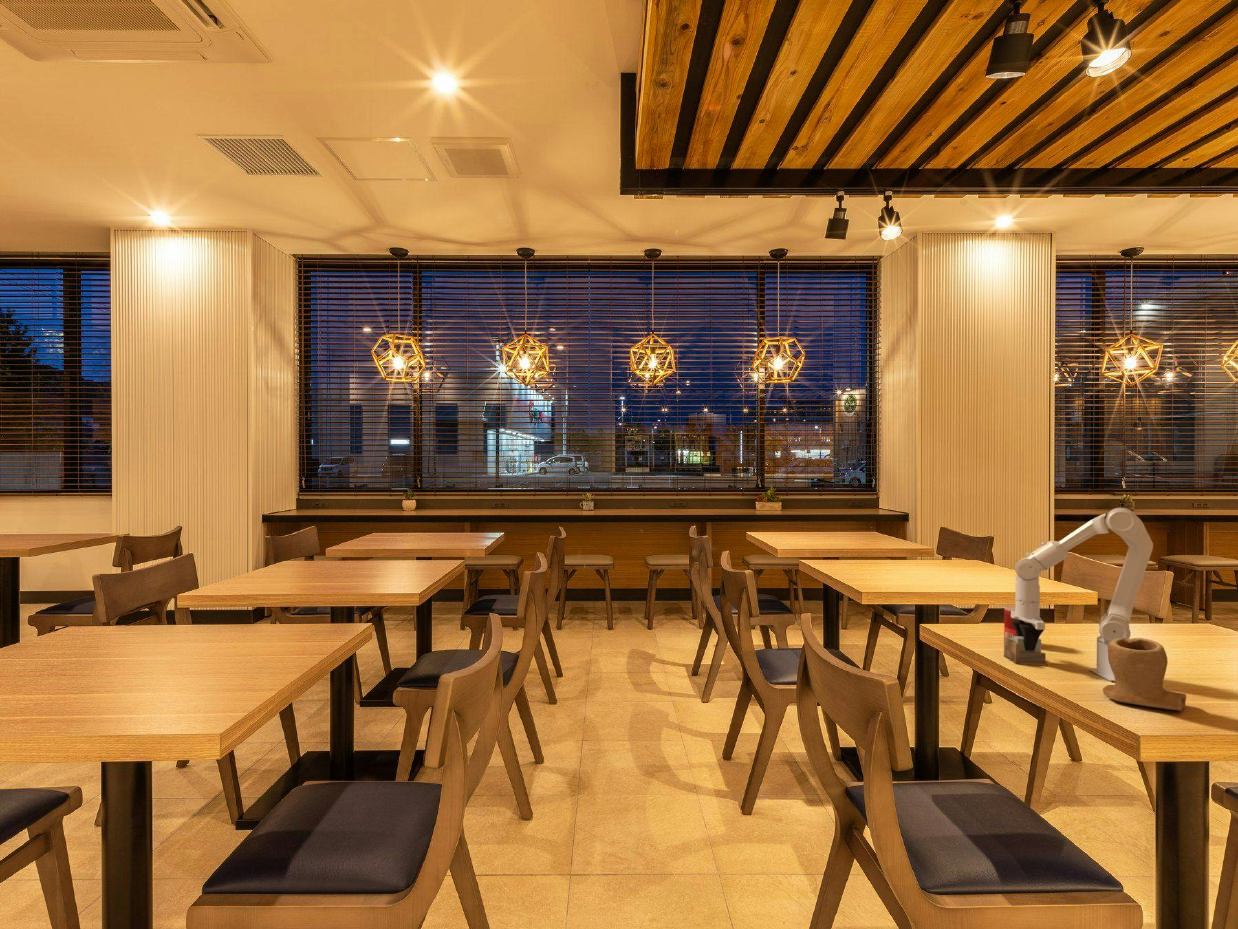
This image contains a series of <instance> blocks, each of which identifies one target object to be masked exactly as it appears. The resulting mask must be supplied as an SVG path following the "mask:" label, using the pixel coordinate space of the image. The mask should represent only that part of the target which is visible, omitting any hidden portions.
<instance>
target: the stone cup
mask: <svg viewBox="0 0 1238 929" xmlns="http://www.w3.org/2000/svg"><path fill="white" fill-rule="evenodd" d="M1108 660H1109V664H1110V667H1111V669H1112V672H1113V674H1114V677H1115V682H1114V684H1107V685H1105V686H1104V687H1103V688H1102V693H1103V695H1104V696H1106V697H1107V698H1109V699H1110V700H1112V701H1116V702H1119V703H1120V702H1121V703H1124V704H1130V705H1138V706H1143V707H1149V708H1156V709H1161V710H1162V709H1163V710H1168V711H1169V710H1170V711H1175V712H1176V711H1177V712H1182V711H1183V709H1184V708H1185V706H1186V703H1187V702H1186V701H1187V700H1186V699H1187V694H1186V693H1181V692H1175V691H1170V690H1166V689H1165V688H1164V687H1163V686H1164V680H1165V675H1166V671H1167V667H1168V655H1167V652H1166V650H1165V648H1164V646H1163V644H1161V643H1159V642H1157V641H1155V640H1152V639H1147V638H1144V637H1143V638H1142V637H1134V638H1133V637H1132V638H1129V639H1125V638H1118V639H1114V640H1112V641H1111V642H1110V643H1109V644H1108Z"/></svg>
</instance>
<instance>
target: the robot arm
mask: <svg viewBox="0 0 1238 929" xmlns="http://www.w3.org/2000/svg"><path fill="white" fill-rule="evenodd" d="M1110 530H1111V531H1112V532H1113V533H1115V534H1116V535H1118V536H1119V537H1120V538H1121V539H1122V540H1123V541H1124V543H1126V545H1127V546H1128V548H1127V551H1126V555H1125V558H1124V561H1123V564H1122V567H1121V571H1120V574H1119V577H1118V579H1117V583H1116V586H1115V588H1114V592H1113V594H1112V599H1111V601H1110V603H1109V606H1108V609H1107V610H1106V613H1104V615H1102V616H1100V619H1099V621H1098V622H1099V623H1098V625H1099V627H1098V632H1099V635H1098V636H1097V637H1096V667H1088V670H1089V671H1090V672H1092V673H1094V674H1096V675H1098V676H1100V677H1102V678H1104V679H1106V680H1108V681H1109V682H1112V681H1113V683H1115V677H1114V674H1113V672H1112V669H1111V667H1110V664H1109V660H1108V644H1109V643H1110V642H1111V641H1112V640H1114V639H1118V638H1125V639H1131V630H1130V622H1131V618H1132V613H1133V609H1134V607H1135V603H1136V601H1137V597H1138V595H1139V592H1140V588H1141V585H1142V583H1143V579H1144V576H1145V573H1146V570H1147V566H1148V565H1149V564H1148V563H1149V561H1150V558H1151V555H1152V552H1153V549H1154V543H1153V541H1152V539H1151V536H1150V535H1149V533H1148V531H1147V529H1146V526H1145V524H1144V523H1143V521H1142V520H1141V519H1140V517H1139V516H1137V515H1136V514H1135V513H1134V512H1133V511H1132V510H1130V509H1128V508H1126V507H1116V508H1113V509H1110V511H1108V512H1107V513H1103V514H1101V515H1098V516H1096V517H1094V518H1093V519H1090V520H1089V521H1087V522H1085V523H1084V524H1083V525H1081V526H1080V527H1078V528H1077V529H1075V530H1074V531H1072V532H1071V533H1069V534H1068V535H1067V536H1065V537H1063V538H1062V539H1060V540H1058V541H1056V540H1049V541H1043V542H1041V543H1040V545H1041V546H1040V547H1038V548H1037V549H1035V550H1033V551H1032V552H1026V553H1025V556H1026V557H1022V558H1020V560H1018V561H1017V562H1016V564H1015V565H1014V571H1015V573H1016V578H1015V580H1016V582H1015V594H1014V596H1015V598H1014V601H1015V605H1014V606H1015V610H1011V617H1012V618H1014V619H1017V620H1016V621H1011V623H1012V625H1013V627H1014V629H1015V631H1016V634H1017V636H1021V637H1023V638H1024V646H1025V650H1027V651H1034V650H1035V648H1036V644H1037V641H1038V639H1040V637H1041V635H1042V634H1043V632H1044V631H1045V630H1046V622H1044V620H1042V618H1041V611H1040V610H1041V609H1040V608H1041V599H1040V597H1041V586H1040V574H1041V572H1042V571H1047V570H1049V569H1051V568H1052V567H1054V566H1056V565H1058V564H1059V563H1060V562H1062V561H1064V560H1065V559H1067V558H1068V551H1069V550H1071V549H1073V548H1075V547H1076V546H1078V545H1080V544H1081V543H1083V542H1085V541H1087V540H1088V539H1090V538H1092V537H1094V536H1095V535H1102V534H1103V535H1105V534H1109V533H1110Z"/></svg>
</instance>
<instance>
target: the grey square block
mask: <svg viewBox="0 0 1238 929" xmlns="http://www.w3.org/2000/svg"><path fill="white" fill-rule="evenodd" d="M1013 641H1015V642H1017V643H1019V644H1020V652H1037V653H1042V639H1041V638H1039V639H1038V641H1037V644H1036V648H1035V650H1034V651H1027V650H1025V646H1024V638H1023V637H1021V636H1013Z"/></svg>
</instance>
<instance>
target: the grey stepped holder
mask: <svg viewBox="0 0 1238 929" xmlns="http://www.w3.org/2000/svg"><path fill="white" fill-rule="evenodd" d="M1046 654H1047V653H1045V652H1041V653H1037V652H1020V644H1019V643H1017V642H1015V641H1013V640H1012V639H1010V638H1008V637H1004V636H1003V657H1004V658H1006V659H1008V660H1009V659H1010V660H1009V661H1011V662H1012V661H1013V663H1014V664H1015V665H1026V664H1032V665H1031V666H1044V665H1047V666H1048V663H1047V662H1046V656H1047V655H1046Z"/></svg>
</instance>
